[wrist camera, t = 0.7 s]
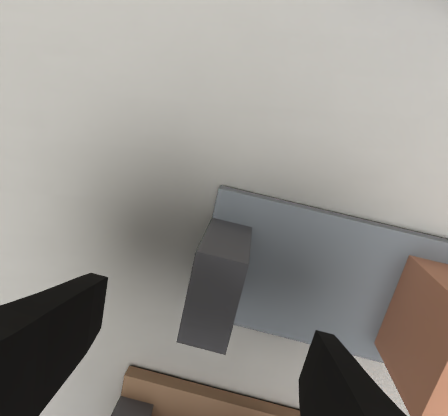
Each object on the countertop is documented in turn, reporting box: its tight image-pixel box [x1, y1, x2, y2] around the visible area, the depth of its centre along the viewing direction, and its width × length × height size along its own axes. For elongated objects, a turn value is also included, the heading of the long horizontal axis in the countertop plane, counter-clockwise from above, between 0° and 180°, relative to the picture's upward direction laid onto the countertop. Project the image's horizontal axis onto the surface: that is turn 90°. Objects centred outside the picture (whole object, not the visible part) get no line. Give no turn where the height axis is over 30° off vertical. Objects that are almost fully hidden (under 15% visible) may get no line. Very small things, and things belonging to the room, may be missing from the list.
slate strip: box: [177, 185, 448, 363], centre depth 15 cm, size 7×18×5 cm, turn 78°
